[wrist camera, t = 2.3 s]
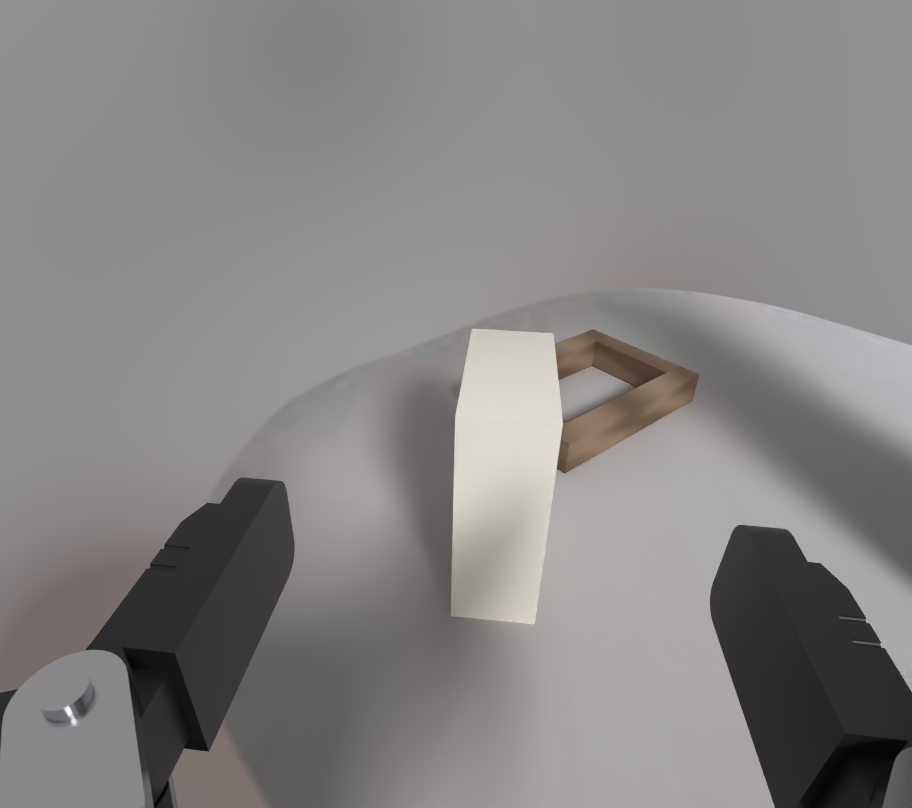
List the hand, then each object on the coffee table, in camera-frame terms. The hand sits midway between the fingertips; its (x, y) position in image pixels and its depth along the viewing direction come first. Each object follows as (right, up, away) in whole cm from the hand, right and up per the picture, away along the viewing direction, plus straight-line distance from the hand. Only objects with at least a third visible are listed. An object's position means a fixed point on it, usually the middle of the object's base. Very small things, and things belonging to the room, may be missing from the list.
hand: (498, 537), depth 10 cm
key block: (+1, -5, +16) cm, 17 cm away
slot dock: (+8, +3, +28) cm, 29 cm away
